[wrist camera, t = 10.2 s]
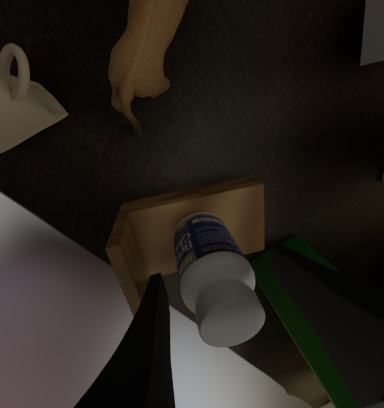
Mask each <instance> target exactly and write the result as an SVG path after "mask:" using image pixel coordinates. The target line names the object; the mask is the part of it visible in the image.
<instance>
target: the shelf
mask: <svg viewBox="0 0 384 408" xmlns="http://www.w3.org/2000/svg"><path fill="white" fill-rule="evenodd" d="M198 212H208V213H211V214H214V215H216V216H217V217H219V218H220V219H221V220H222V222H223V223H224V224H225V226H226V227H227V229H228V231H229V232H230V234H231V235H232V237H233V238H234V240H235V241H236V243H237V245H238V246H239V248H240V249H241V251H242V252H243V254H244V255H246V254H250V253H254V252H258V251H262V250H264V183H262V182H261V181H259V180H257V179H255V178H254V177H252V176H246V177H241V178H236V179H231V180H227V181H222V182H217V183H213V184H208V185H203V186H199V187H194V188H189V189H184V190H180V191H175V192H170V193H166V194H161V195H156V196H151V197H147V198H142V199H137V200H133V201H128V202H123V203H122V205H121V207H120V210H119V213H118V215H117V218H116V221H115V223H114V226H113V229H112V231H111V234H110V237H109V239H108V242H107V245H106V247H105V250H106V252H107V255H108V257H109V259H110V262H111V264H112V266H113V269H114V271H115V273H116V276H117V278H118V281H119V283H120V285H121V287H122V290H123V292H124V295H125V297H126V299H127V302H128V304H129V306H130V309H131V311H132V313H133V316H135V314H136V312H137V309H138V307H139V305H140V302H141V300H142V297H143V295H144V292H145V289H146V287H147V284H148V280H149V277H150V275H153V274H157V273H161V275H166V274H170V273H174V272H178V271H177V265H176V258H175V251H174V243H173V235H174V231H175V228H176V226H177V225H178V223H179V222H180V221H181V220H182V219H184V218H185V217H187V216H188V215H191V214H193V213H198Z"/></svg>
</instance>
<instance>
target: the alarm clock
mask: <svg viewBox="0 0 384 408" xmlns="http://www.w3.org/2000/svg"><path fill="white" fill-rule="evenodd" d="M383 60H384V0H366V5H365V16H364V27H363V39H362V50H361V61H360V66H362V65H366V64H370V63H375V62H379V61H383Z"/></svg>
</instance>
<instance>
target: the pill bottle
mask: <svg viewBox="0 0 384 408" xmlns="http://www.w3.org/2000/svg"><path fill="white" fill-rule="evenodd" d="M173 243H174V251H175V258H176V265H177V271H178V278H179V286H180V291H181V296H182V299H183V302H184V303H185V305H186V306H187V308H188V309H189V310H190V311H192V312H193V313H195V317H196V322H197V326H198V330H199V334H200V336H201V338H202V340H203V341H204V342H205V343H207V344H209V345H211V346H215V347H230V346H235V345H238V344H241V343H243V342H245V341H247V340H249V339H250V338H252V337H253V336H254V335H256V334H257V333H258V332H259V330H260V329H261V328H262V326H263V324H264V321H265V312H264V309H263V307H262V305H261V303H260V301H259V299H258V297H257V295H256V293H255V292H254V289H255V275H254V271H253V269H252V267H251V265H250V263H249V262H248V260H247V259H246V257H245V256H244V254H243V252H242V251H241V249H240V248H239V246H238V245H237V243H236V241H235V240H234V238H233V237H232V235H231V234H230V232H229V231H228V229H227V227H226V226H225V224H224V223H223V222H222V220H221V219H220V218H219V217H217V216H216V215H214V214H211V213H208V212H198V213H193V214H191V215H188V216H187V217H185V218H184V219H182V220H181V221H180V222H179V223H178V225H177V226H176V228H175V231H174V235H173Z"/></svg>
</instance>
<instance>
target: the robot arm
mask: <svg viewBox="0 0 384 408" xmlns="http://www.w3.org/2000/svg"><path fill="white" fill-rule="evenodd" d="M382 181H383V182H384V172H383V176H382ZM271 271H272V273H273V274H274V276H275V278H276V279H277V281H278V283H279V284H280V285H281V287H282V288H283V289H284V291H285V292H286V293H287V295H288V296H289V297H290V299H291V300H292V301H293V302H294V304H295V305H296V306H297V308H298V309H299V310H300V312H301V313H302V314H303V316H304V317H305V318H306V320H307V321H308V323H309V324H310V326H311V327H312V329H313V330H314V332H315V334H316V335H317V337H318V338H319V340H320V342H321V343H322V345H323V347H324V348H325V350H326V351H327V353H328V355H329V356H330V358H331V360H332V362H333V363H334V365H335V367H336V369H337V370H338V372H339V374H340V376H341V377H342V379H343V381H344V383H345V385H346V386H347V388H348V390H349V392H350V394H351V396H352V397H353V399H354V401H355V403H356V405H357V407H358V408H384V287H381V286H378V285H374V284H371V283H368V282H365V281H362V280H359V279H356V278H354V277H351V276H348V275H346V274H343V273H341V272H338V271H336V270H333V269H331V268H329V267H327V266H324V265H322V264H320V263H318V262H316V261H314V260H312V259H310V258H308V257H306V256H304V255H302V254H300V253H298V252H296V251H294V250H293V249H291V248H289V247H287V246H285V245H283V244H281V243H276V244H272V245H271ZM74 408H175V400H174V390H173V380H172V370H171V358H170V311H169V302H168V295H167V292H166V289H165V285H164V282H163V279H162V275H161V273H157V274H153V275H150V277H149V280H148V284H147V287H146V289H145V292H144V295H143V297H142V300H141V302H140V305H139V307H138V309H137V312H136V314H135V316H134V318H133V320H132V322H131V324H130V326H129V328H128V330H127V332H126V334H125V335H124V337H123V339H122V341H121V342H120V344H119V346H118V347H117V349H116V351H115V352H114V354H113V355H112V357H111V359H110V360H109V362H108V363H107V364H106V366H105V367H104V369H103V370H102V371H101V373H100V374H99V376H98V377H97V378H96V380H95V381H94V383H93V384H92V385H91V387H90V388H89V389H88V390H87V392H86V393H85V394H84V395H83V397H82V398H81V399H80V400H79V402H78V403H77V404H76V405H75V407H74Z"/></svg>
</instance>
